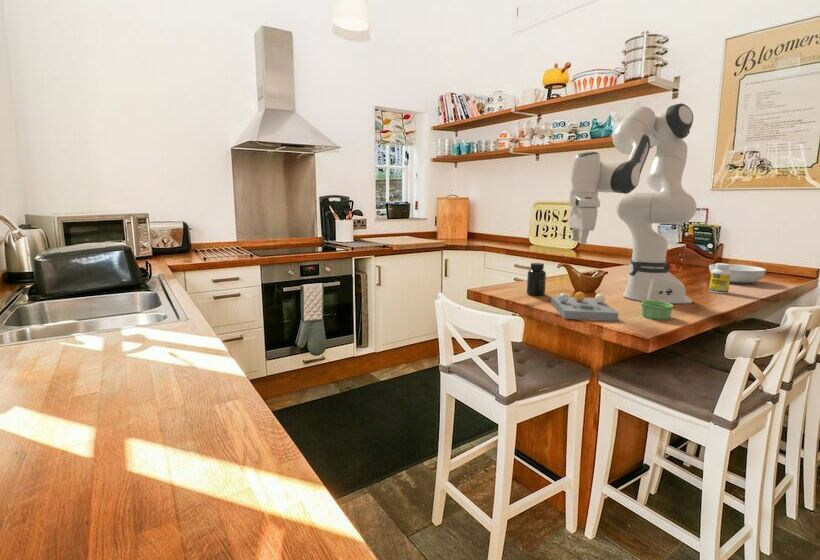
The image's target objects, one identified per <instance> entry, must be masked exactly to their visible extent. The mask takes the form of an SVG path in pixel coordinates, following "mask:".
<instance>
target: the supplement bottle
mask: <svg viewBox="0 0 820 560" xmlns="http://www.w3.org/2000/svg"><path fill="white" fill-rule="evenodd" d="M544 267H545V265H544V263H542V262H531V263H530V267H529V268H530V270H528V272H527V279H526V281H527V282H526V293H527V295H528V294H529V296H533V295H534V296H536V297H541V296H545V294H546V282H547V281H546V279H547V272H546V270H544ZM534 296H533V297H534Z"/></svg>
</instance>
